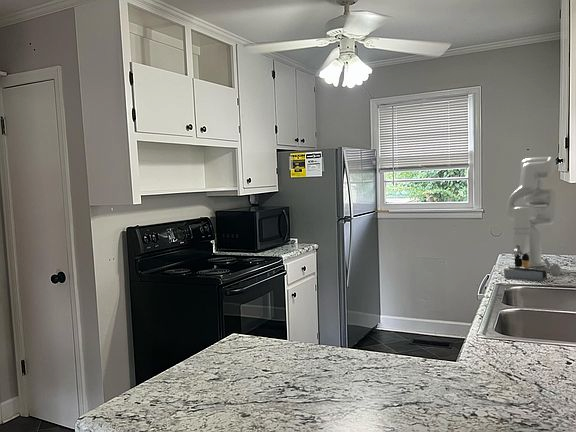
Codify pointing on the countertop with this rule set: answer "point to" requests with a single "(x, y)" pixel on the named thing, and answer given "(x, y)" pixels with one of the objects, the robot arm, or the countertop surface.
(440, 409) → the countertop surface
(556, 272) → the grey irregular flat piece
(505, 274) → the grey flat block
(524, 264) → the clip
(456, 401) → the countertop surface
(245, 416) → the countertop surface
